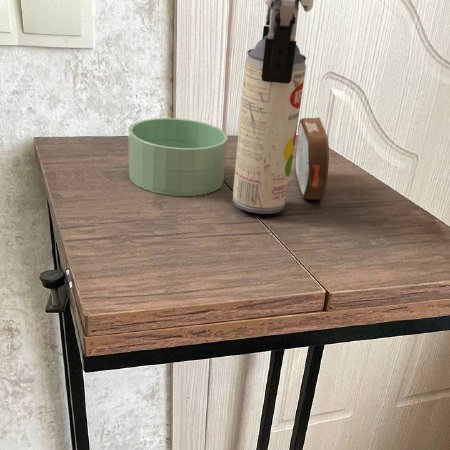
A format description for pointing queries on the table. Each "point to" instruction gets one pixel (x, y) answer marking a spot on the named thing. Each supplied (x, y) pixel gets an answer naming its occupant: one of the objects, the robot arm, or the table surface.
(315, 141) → the tin
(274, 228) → the table surface
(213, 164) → the bowl
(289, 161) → the aerosol can
